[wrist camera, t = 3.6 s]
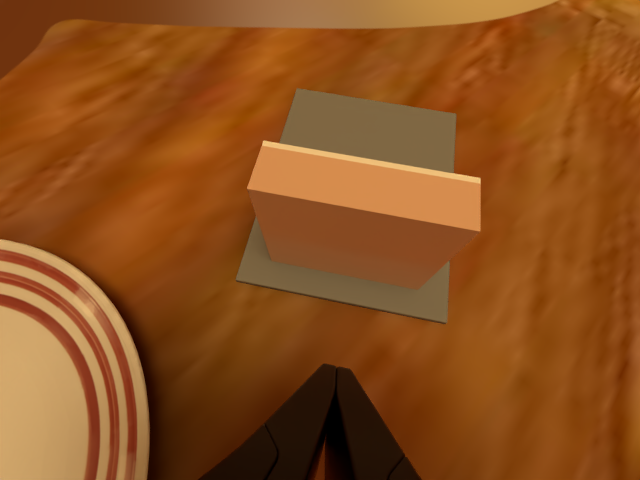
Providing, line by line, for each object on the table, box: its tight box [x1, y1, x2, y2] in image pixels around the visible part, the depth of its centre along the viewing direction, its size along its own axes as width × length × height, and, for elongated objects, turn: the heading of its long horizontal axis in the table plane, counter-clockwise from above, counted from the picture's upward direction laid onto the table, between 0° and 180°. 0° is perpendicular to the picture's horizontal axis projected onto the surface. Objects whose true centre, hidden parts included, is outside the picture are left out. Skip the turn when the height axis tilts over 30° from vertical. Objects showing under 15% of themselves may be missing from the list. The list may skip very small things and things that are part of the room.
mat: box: [236, 88, 456, 324], centre depth 25 cm, size 18×14×1 cm
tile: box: [247, 141, 480, 290], centre depth 19 cm, size 3×10×9 cm, turn 79°
